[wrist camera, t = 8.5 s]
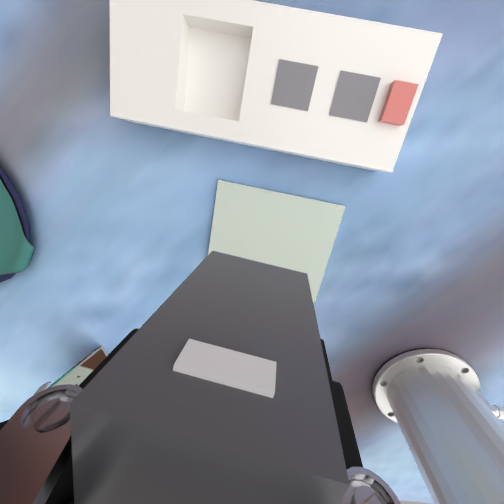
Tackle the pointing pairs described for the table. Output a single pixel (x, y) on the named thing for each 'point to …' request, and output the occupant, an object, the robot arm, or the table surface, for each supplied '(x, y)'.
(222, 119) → the power strip
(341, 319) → the table surface
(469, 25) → the table surface
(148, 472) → the block
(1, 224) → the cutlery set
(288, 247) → the mat
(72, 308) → the table surface
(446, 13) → the table surface
